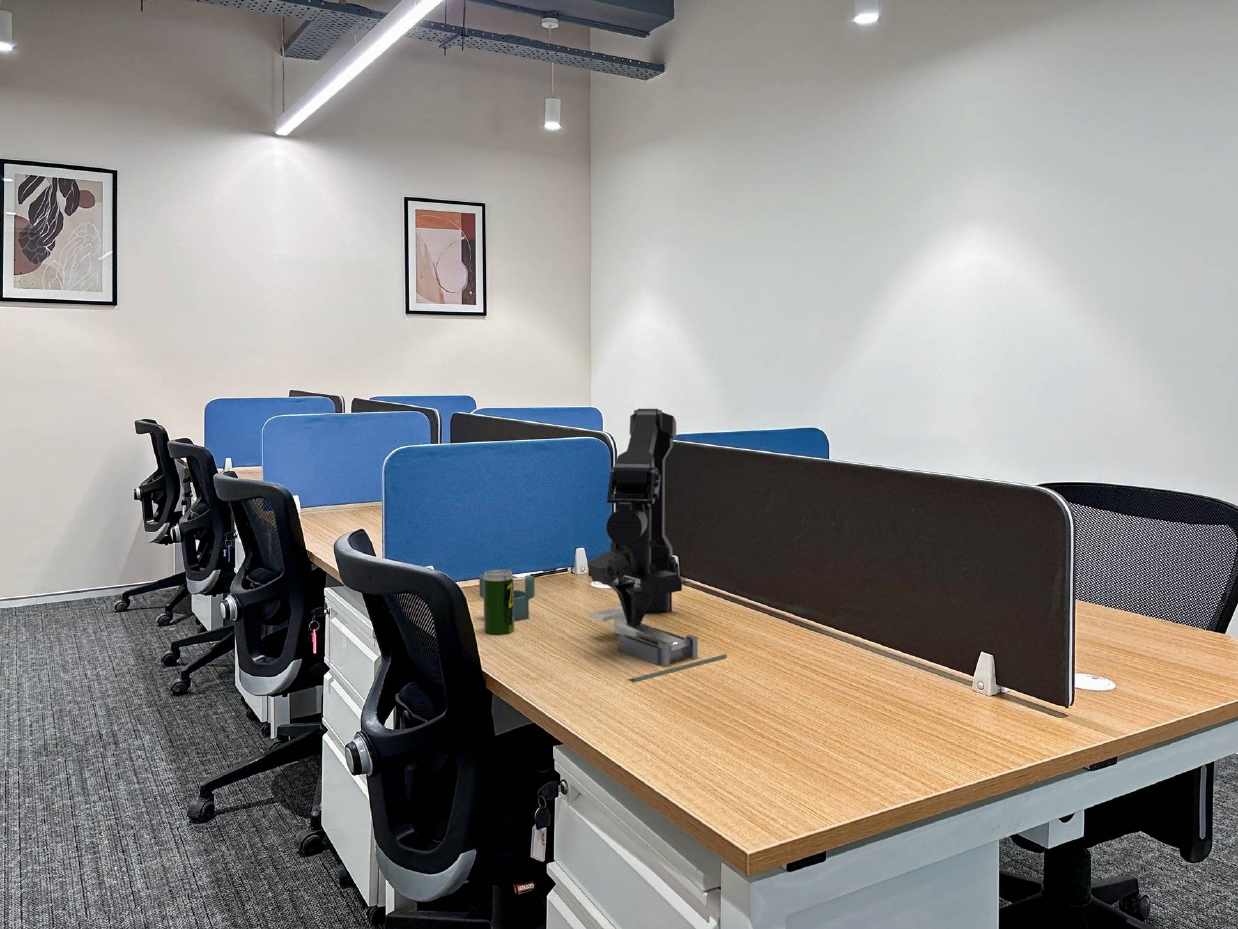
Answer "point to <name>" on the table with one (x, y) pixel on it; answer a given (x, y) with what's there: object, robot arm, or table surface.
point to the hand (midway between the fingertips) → (633, 624)
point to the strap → (654, 635)
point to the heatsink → (656, 649)
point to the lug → (612, 614)
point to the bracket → (518, 597)
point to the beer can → (498, 602)
